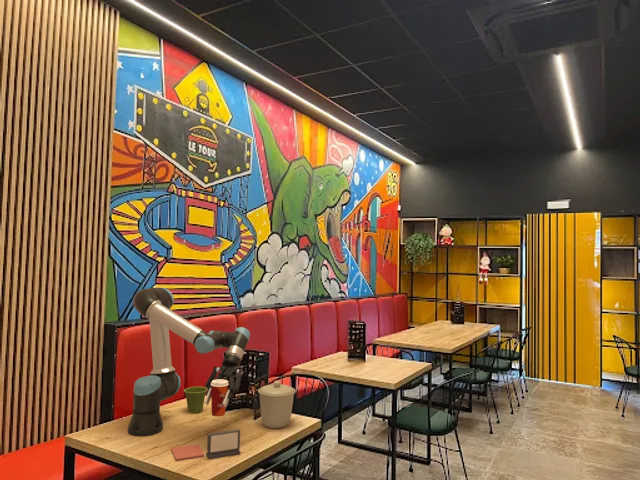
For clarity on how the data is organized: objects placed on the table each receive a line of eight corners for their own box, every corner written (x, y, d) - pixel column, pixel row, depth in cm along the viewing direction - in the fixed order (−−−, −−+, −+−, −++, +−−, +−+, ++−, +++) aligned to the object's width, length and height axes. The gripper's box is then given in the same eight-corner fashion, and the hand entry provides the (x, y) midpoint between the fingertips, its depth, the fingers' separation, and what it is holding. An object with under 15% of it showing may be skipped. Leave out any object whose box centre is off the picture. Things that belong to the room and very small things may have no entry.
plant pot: (190, 406, 250) (191, 385, 250) (210, 409, 246) (211, 387, 247) (178, 413, 238) (179, 391, 239) (199, 416, 235) (200, 393, 236)
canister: (275, 416, 238) (277, 374, 239) (302, 424, 227) (303, 380, 228) (249, 425, 224) (250, 380, 225) (275, 434, 213) (277, 387, 214)
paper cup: (223, 418, 194) (224, 384, 195) (206, 416, 196) (207, 382, 196) (230, 412, 202) (231, 379, 203) (213, 410, 204) (215, 378, 204)
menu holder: (206, 455, 188) (207, 432, 189) (237, 450, 194) (238, 428, 194) (208, 459, 185) (209, 436, 185) (240, 454, 190) (241, 431, 191)
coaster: (171, 449, 193) (171, 447, 193) (198, 445, 198) (198, 443, 198) (175, 461, 182) (175, 459, 182) (204, 456, 187) (204, 454, 187)
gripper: (256, 364, 212) (240, 411, 196) (215, 361, 217) (196, 406, 201) (252, 355, 207) (235, 402, 191) (210, 351, 212) (190, 397, 196)
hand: (215, 404), depth 196 cm, fingers closed on paper cup, 8 cm apart
